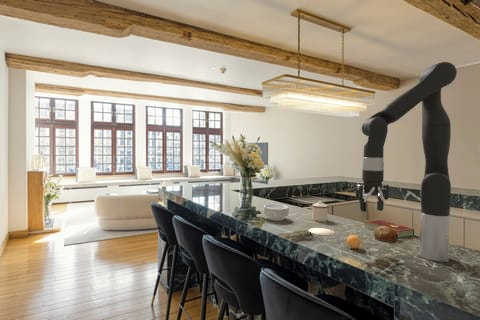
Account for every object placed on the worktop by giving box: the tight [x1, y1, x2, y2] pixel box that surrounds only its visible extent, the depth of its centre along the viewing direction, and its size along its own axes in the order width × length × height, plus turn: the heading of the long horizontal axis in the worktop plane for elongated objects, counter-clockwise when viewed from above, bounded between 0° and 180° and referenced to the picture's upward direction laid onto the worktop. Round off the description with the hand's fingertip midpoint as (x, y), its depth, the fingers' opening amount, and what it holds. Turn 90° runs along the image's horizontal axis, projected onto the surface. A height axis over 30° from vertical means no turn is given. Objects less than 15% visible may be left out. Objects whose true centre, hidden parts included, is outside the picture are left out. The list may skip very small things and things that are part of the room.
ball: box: [346, 234, 362, 250], centre depth 120 cm, size 6×6×6 cm
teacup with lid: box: [311, 200, 329, 223], centre depth 171 cm, size 12×9×12 cm
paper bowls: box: [263, 203, 290, 222], centre depth 171 cm, size 15×15×8 cm
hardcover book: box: [362, 219, 415, 238], centre depth 148 cm, size 12×21×4 cm, turn 23°
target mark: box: [308, 227, 336, 236], centre depth 145 cm, size 13×13×1 cm
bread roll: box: [373, 226, 400, 243], centre depth 135 cm, size 10×10×8 cm
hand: (371, 210), depth 111 cm, fingers open, 7 cm apart
